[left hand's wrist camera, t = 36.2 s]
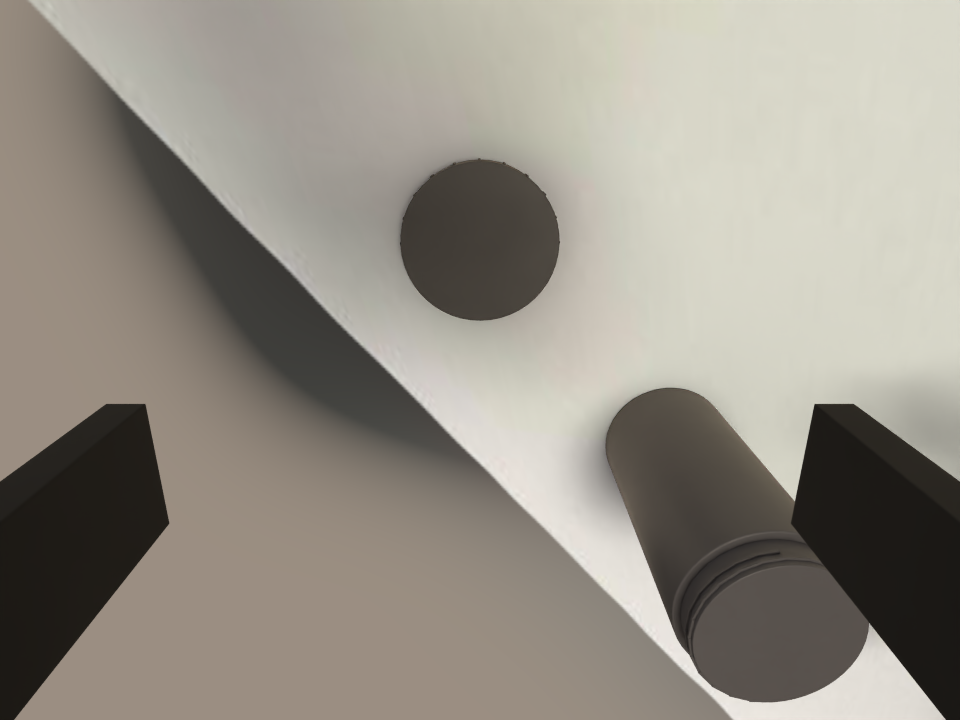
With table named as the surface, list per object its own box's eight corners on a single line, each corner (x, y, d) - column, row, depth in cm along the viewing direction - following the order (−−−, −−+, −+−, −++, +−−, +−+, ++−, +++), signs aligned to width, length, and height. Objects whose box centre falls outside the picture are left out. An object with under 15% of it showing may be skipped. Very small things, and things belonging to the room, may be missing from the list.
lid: (480, 340, 42) (480, 350, 40) (372, 239, 40) (367, 245, 38) (587, 238, 40) (593, 243, 38) (478, 124, 38) (479, 123, 36)
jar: (613, 384, 43) (701, 553, 26) (734, 390, 44) (902, 561, 26) (598, 491, 46) (670, 705, 29) (713, 496, 46) (851, 712, 29)
